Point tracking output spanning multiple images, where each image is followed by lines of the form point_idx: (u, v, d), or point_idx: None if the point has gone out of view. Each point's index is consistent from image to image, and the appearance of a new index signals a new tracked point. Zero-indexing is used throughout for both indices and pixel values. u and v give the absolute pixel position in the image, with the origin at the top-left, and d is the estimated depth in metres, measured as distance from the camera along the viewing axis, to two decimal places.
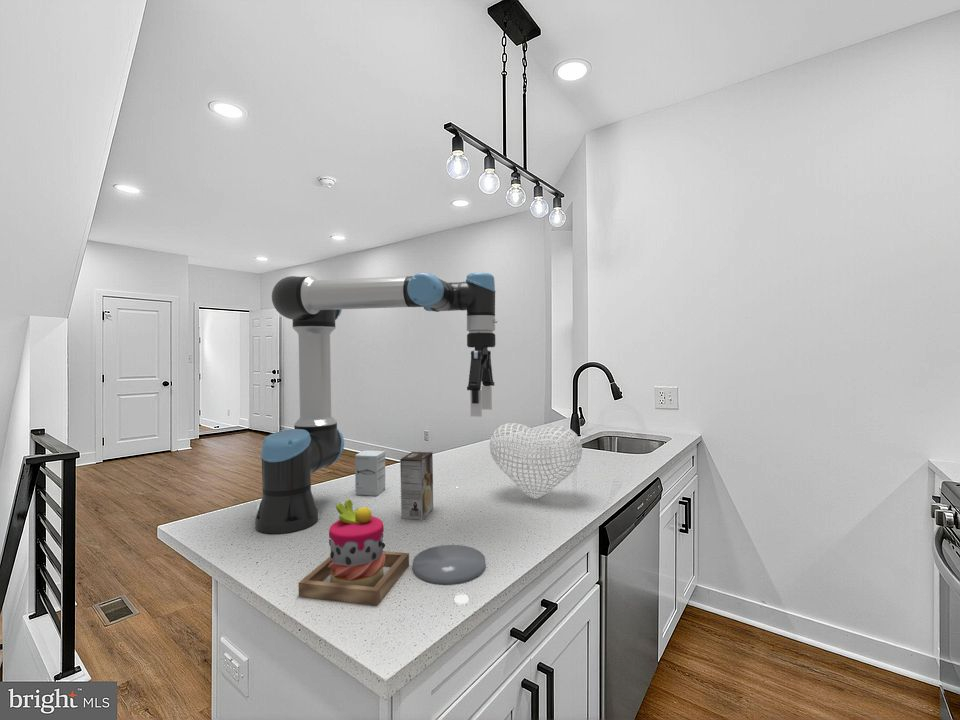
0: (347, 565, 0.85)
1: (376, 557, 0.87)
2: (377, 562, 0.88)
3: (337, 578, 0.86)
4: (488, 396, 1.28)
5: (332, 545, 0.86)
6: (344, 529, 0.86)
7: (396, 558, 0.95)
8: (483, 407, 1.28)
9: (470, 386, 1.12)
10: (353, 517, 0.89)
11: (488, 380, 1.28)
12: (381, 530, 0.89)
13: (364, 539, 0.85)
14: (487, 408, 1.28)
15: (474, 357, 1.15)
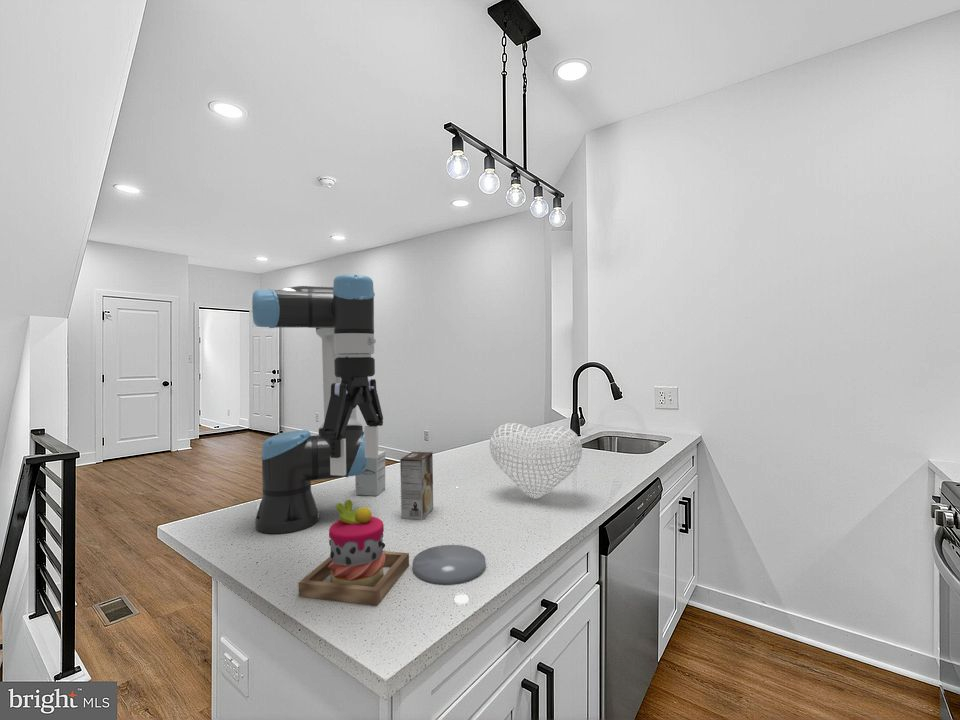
0: (347, 565, 0.85)
1: (376, 557, 0.87)
2: (377, 562, 0.88)
3: (337, 578, 0.86)
4: (373, 440, 0.95)
5: (332, 545, 0.86)
6: (344, 529, 0.86)
7: (396, 558, 0.95)
8: (367, 455, 0.96)
9: (324, 435, 0.79)
10: (353, 517, 0.89)
11: (372, 419, 0.95)
12: (381, 530, 0.89)
13: (364, 539, 0.85)
14: (372, 456, 0.95)
15: (335, 392, 0.82)
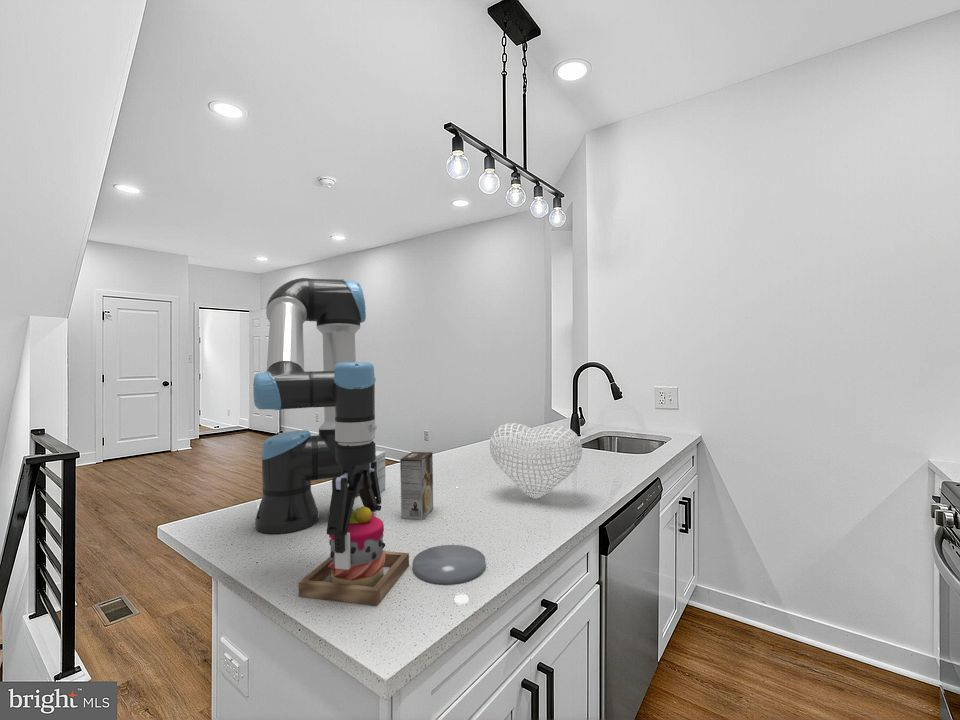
0: None
1: (376, 557, 0.87)
2: (377, 562, 0.88)
3: (337, 578, 0.86)
4: None
5: (332, 545, 0.86)
6: None
7: (396, 558, 0.95)
8: None
9: (329, 532, 0.81)
10: (353, 517, 0.89)
11: (371, 503, 0.94)
12: (381, 530, 0.89)
13: (364, 539, 0.85)
14: None
15: (336, 488, 0.83)
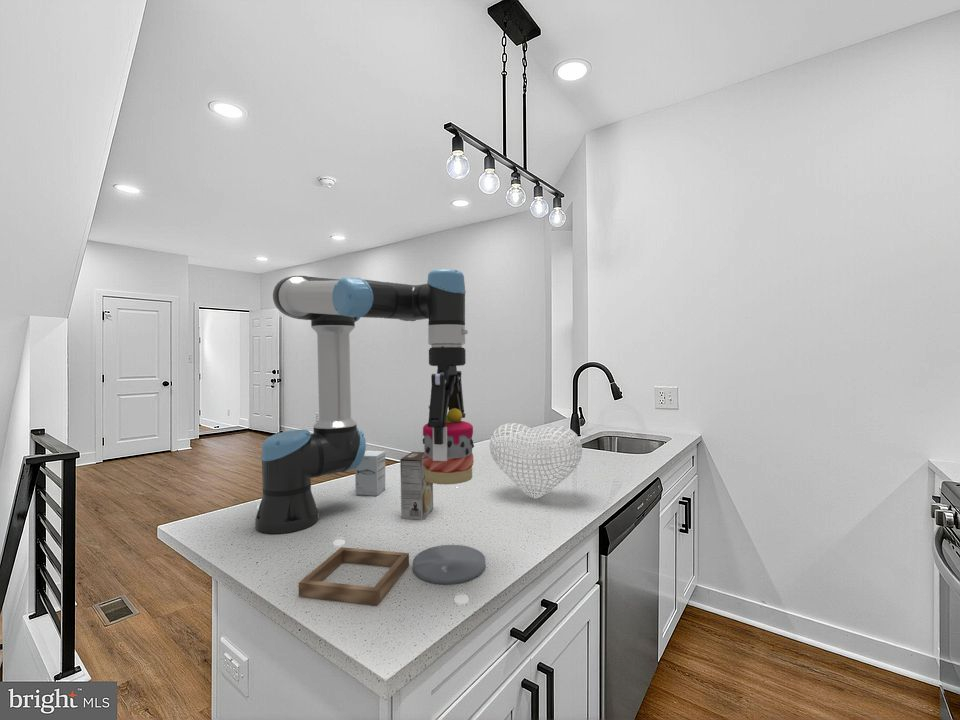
0: None
1: (468, 453, 0.92)
2: (469, 459, 0.93)
3: (433, 471, 0.91)
4: None
5: (428, 441, 0.91)
6: None
7: (396, 558, 0.95)
8: None
9: (431, 423, 0.86)
10: None
11: None
12: (472, 429, 0.94)
13: (459, 434, 0.90)
14: None
15: (436, 383, 0.88)
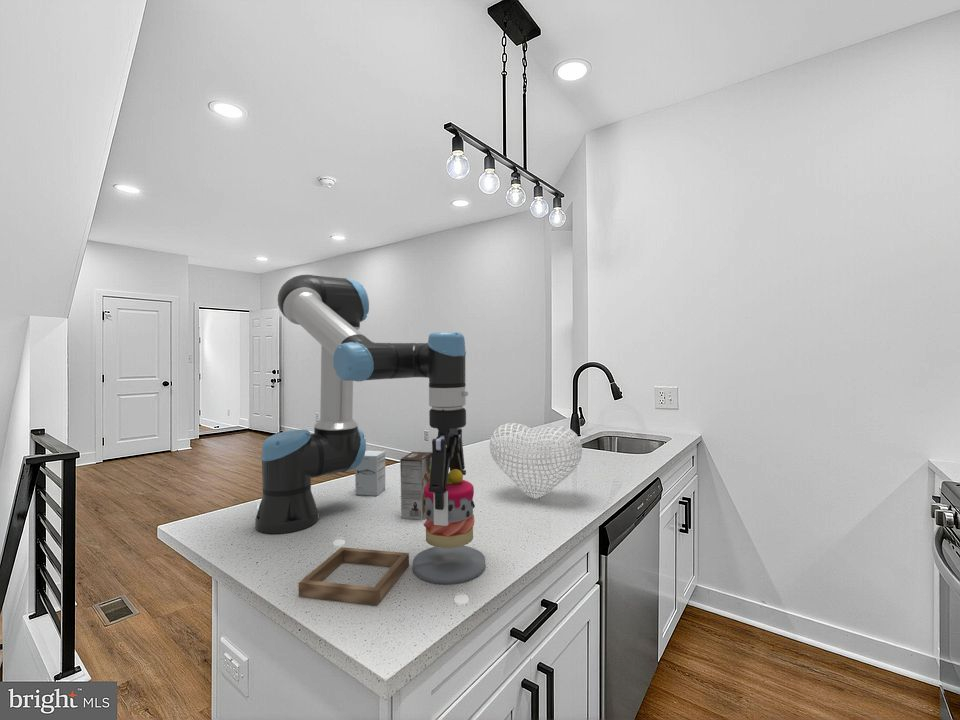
0: None
1: (469, 515, 0.92)
2: (470, 520, 0.93)
3: (434, 534, 0.91)
4: None
5: (429, 504, 0.92)
6: None
7: (396, 558, 0.95)
8: None
9: (432, 489, 0.86)
10: None
11: (457, 468, 0.99)
12: (473, 490, 0.94)
13: (460, 497, 0.90)
14: None
15: (436, 448, 0.88)
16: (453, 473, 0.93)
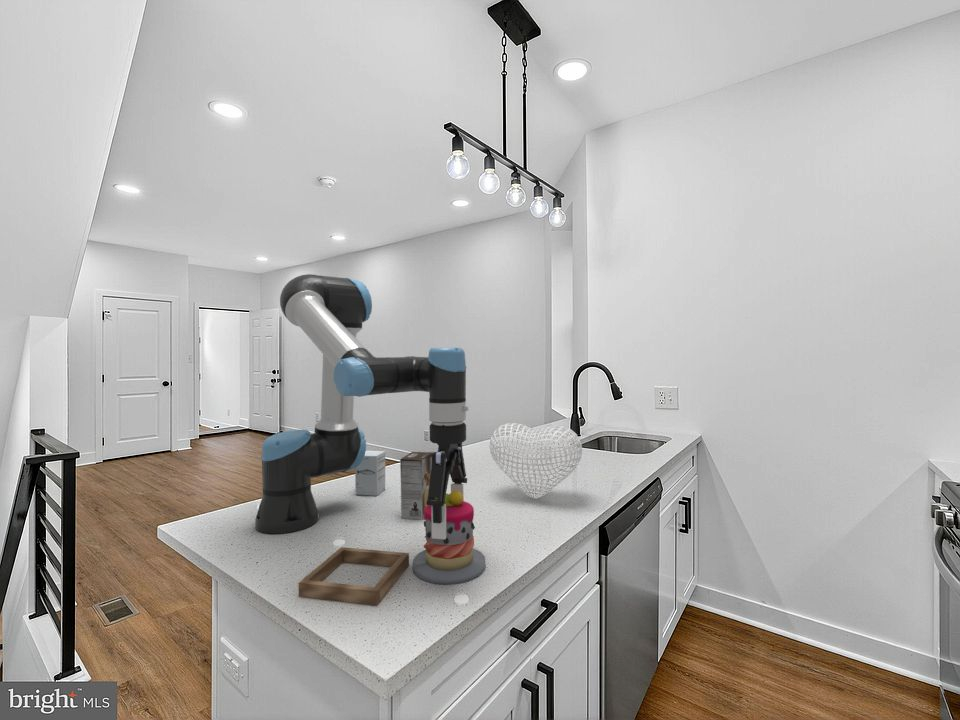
0: (445, 544, 0.90)
1: (469, 537, 0.93)
2: (470, 542, 0.93)
3: (434, 557, 0.91)
4: None
5: (429, 526, 0.92)
6: None
7: (396, 558, 0.95)
8: None
9: (430, 503, 0.85)
10: (446, 500, 0.95)
11: (459, 477, 1.01)
12: (473, 512, 0.94)
13: (460, 520, 0.91)
14: None
15: (436, 461, 0.88)
16: (453, 495, 0.94)
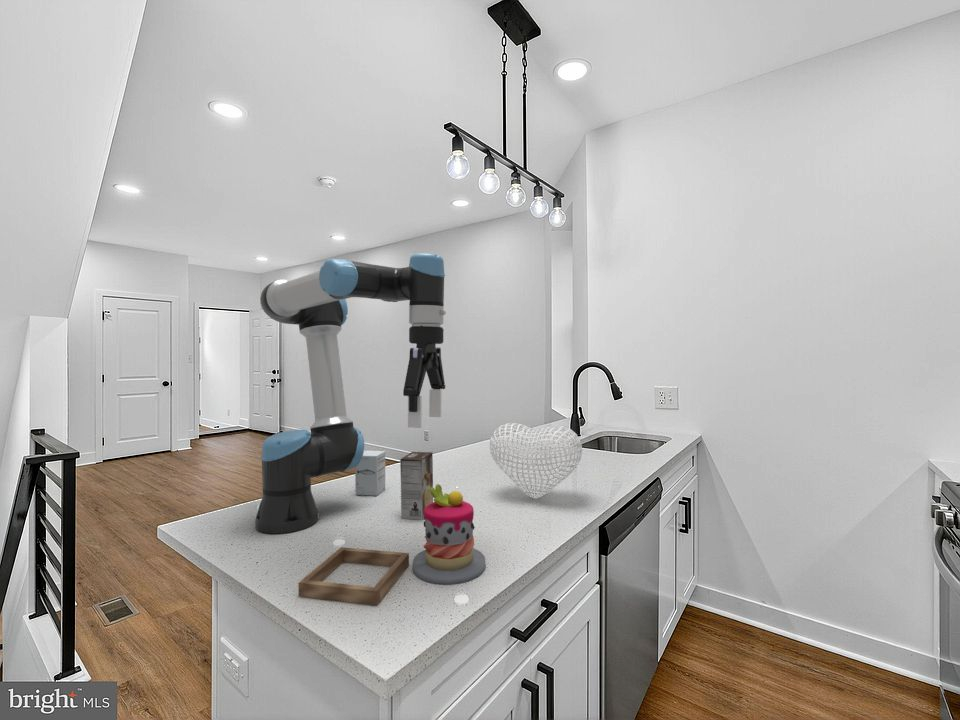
0: (445, 544, 0.90)
1: (469, 537, 0.93)
2: (470, 543, 0.93)
3: (434, 557, 0.91)
4: (437, 401, 1.08)
5: (429, 526, 0.92)
6: (440, 511, 0.92)
7: (396, 558, 0.95)
8: (431, 414, 1.08)
9: (406, 391, 0.92)
10: (445, 500, 0.95)
11: (437, 382, 1.07)
12: (472, 512, 0.94)
13: (460, 520, 0.91)
14: (435, 415, 1.08)
15: (413, 356, 0.95)
16: (453, 495, 0.94)
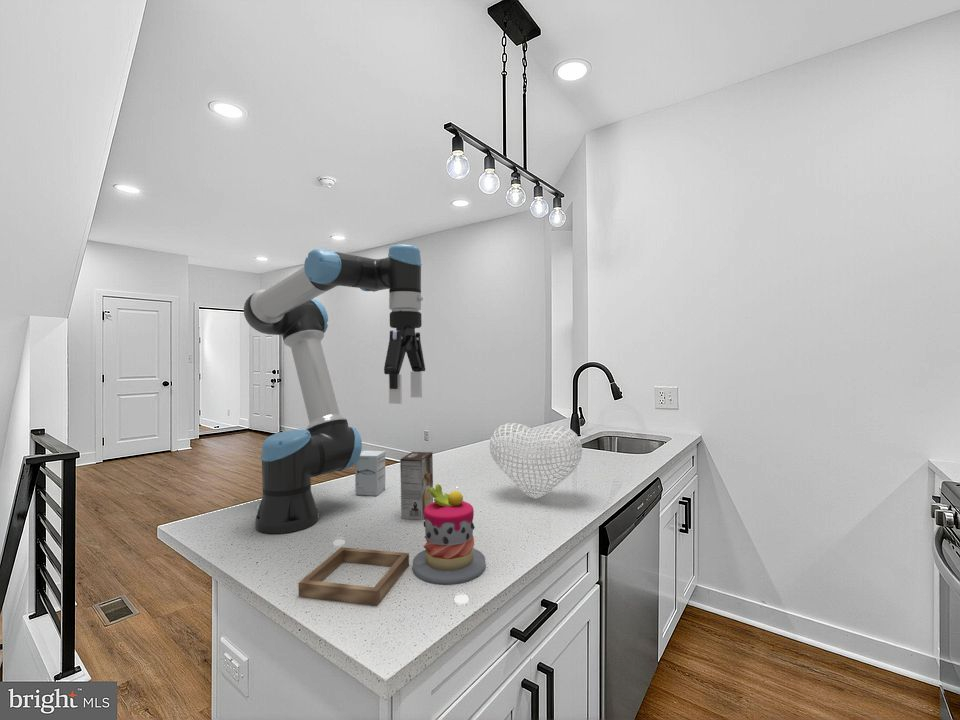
0: (445, 544, 0.90)
1: (469, 537, 0.93)
2: (470, 543, 0.93)
3: (434, 557, 0.91)
4: (417, 383, 1.16)
5: (429, 526, 0.92)
6: (440, 511, 0.92)
7: (396, 558, 0.95)
8: (412, 395, 1.16)
9: (386, 369, 1.00)
10: (445, 500, 0.95)
11: (417, 365, 1.16)
12: (472, 512, 0.94)
13: (460, 520, 0.91)
14: (416, 396, 1.16)
15: (393, 337, 1.03)
16: (453, 495, 0.94)
